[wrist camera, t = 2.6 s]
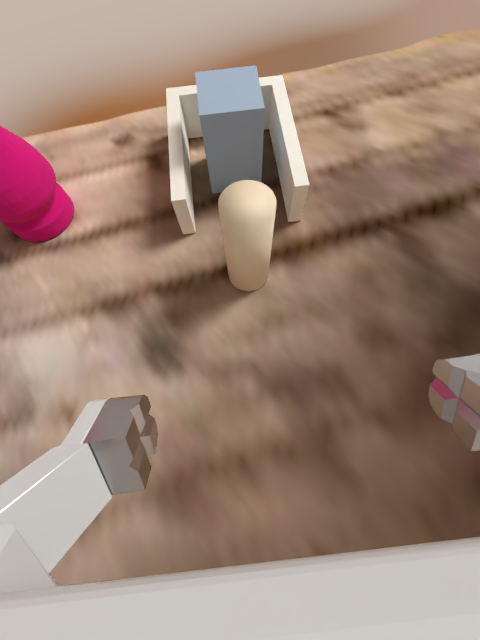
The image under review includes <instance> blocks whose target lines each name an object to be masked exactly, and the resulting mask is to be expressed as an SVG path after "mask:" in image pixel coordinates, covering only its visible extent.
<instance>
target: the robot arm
mask: <svg viewBox="0 0 480 640" xmlns="http://www.w3.org/2000/svg"><path fill="white" fill-rule="evenodd" d="M432 373H433V374H434V375H435V377H436V379H435V380H434V381H433V382H432V383H431V384H430V386H429V393H428V396H429V400H430V404H431V406H432V408H433V410H434V412H435V413H436V414H437V415H438V416H439V417H440V418H441V419H443V420H445V421H447V422H449V423H451V424H452V431H453V432H454V433H455V434H456V435H457V437H458V438H459V439H460V440H461V441H462V442H463V443H464V444H465V445H466V446H467V447H468V448H469V449H470V450H471V451H478V450H480V354H474V355H470V356H462V357H454V358H446V359H438V360H437V361H436V362H435V364H434V366H433V370H432ZM150 407H151V405H150V402H149V399H148V397H147V396H145V395H138V396H128V397H118V398H110V399H100V400H92V401H90V402H88V403H87V405H86V406H85V408H84V409H83V411H82V413H81V414H80V416H79V417H78V419H77V420H76V422H75V424H74V425H73V427H72V428H71V430H70V431H69V433H68V434H67V436H66V438H65V439H64V441H63V442H62V444H61V445H60V446H59V447H53V448H52V449H51V450H49V451H48V452H46V453H45V454H44V455H42V456H41V457H39V458H38V459H37V460H35V461H34V462H32V463H31V464H30V465H28V466H27V467H25V468H24V469H23V470H21V471H20V472H18V473H17V474H16V475H14V476H13V477H12V478H10V479H9V480H7V481H6V482H5V483H3V484H2V485H0V640H480V537H474V538H465V539H457V540H448V541H440V542H431V543H423V544H414V545H406V546H397V547H389V548H380V549H372V550H363V551H355V552H346V553H338V554H329V555H321V556H312V557H304V558H296V559H287V560H279V561H270V562H262V563H253V564H245V565H236V566H228V567H219V568H211V569H203V570H194V571H186V572H177V573H169V574H160V575H152V576H143V577H135V578H127V579H118V580H110V581H101V582H93V583H84V584H76V585H68V586H59V587H58V586H57V584H56V583H55V581H54V580H53V579H52V577H51V576H50V575H49V573H50V571H51V570H52V569H53V568H54V567H55V565H56V564H57V563H58V562H59V561H60V559H61V558H62V557H63V556H64V555H65V553H66V552H67V551H68V550H69V549H70V547H71V546H72V545H73V544H74V543H75V541H76V540H77V539H78V538H79V536H80V535H81V534H82V533H83V532H84V530H85V529H86V528H87V527H88V526H89V524H90V523H91V522H92V521H93V520H94V518H95V517H96V516H97V515H98V514H99V512H100V511H101V510H102V509H103V508H104V506H105V505H106V504H107V503H108V501H109V500H110V499H111V498H112V496H111V495H117V494H123V493H130V492H137V491H143V490H145V489H146V485H147V481H148V478H149V474H150V470H151V465H150V462H149V459H150V458H151V457H152V456H153V454H154V453H155V451H156V447H157V437H158V432H157V425H156V421H155V418H153V417H152V416H151V415H149V411H150Z"/></svg>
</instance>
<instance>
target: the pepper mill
mask: <svg viewBox="0 0 480 640" xmlns="http://www.w3.org/2000/svg"><path fill="white" fill-rule="evenodd" d="M73 214H74V206H73V202H72V200H71V199H70V197H69V196H68V195H67V194H66V192H65V191H64V190H63V189H62V187H61V186H60V185H59V184H57V183H56V176H55V173H54V170H53V168H52V166H51V165H50V164H49V162H48V161H47V160H46V159H45V158H44V157H43V156H42V155H41V154H40V153H39V152H38V151H37V150H36V149H35V148H34V147H33V146H31V145H30V144H29V143H27V142H26V141H25V140H23V139H22V138H20V137H18V136H17V135H15V134H13V133H12V132H10V131H8V130H6V129H5V128H3V127H1V126H0V221H2V222H3V224H4V225H5V226H6V227H7V228H8V229H10V230H11V231H12V232H13V233H15V234H16V235H17V236H18V237H20V238H22V239H24V240H27V241H34V242H39V241H45V240H48V239H51V238H53V237H55V236H57V235H58V234H60V233H61V232H63V231H64V230H65V229H66V228H67V227H68V225H69V224H70V222H71V220H72V218H73Z"/></svg>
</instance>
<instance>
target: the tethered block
mask: <svg viewBox="0 0 480 640" xmlns="http://www.w3.org/2000/svg"><path fill="white" fill-rule="evenodd" d="M195 76H196V87H197V97H198V108H199V117H200V123H201V129H202V135H203V141H204V147H205V153H206V159H207V165H208V171H209V177H210V183H211V189H212V194H214V193H221V195H220V197H219V200H218V208H219V215H220V222H221V228H222V235H223V242H224V248H225V255H226V262H227V269H228V275H229V280H230V282H231V283H232V285H233V286H234V287H236V288H237V289H239V290H242V291H255V290H257V289H259V288H261V287H262V286H263V285H264V284H265V283H266V281H267V278H268V272H269V264H270V255H271V247H272V238H273V230H274V222H275V213H276V203H277V202H276V197H275V195H274V193H273V191H272V190H271V189H270V188H269V187H268V186H267V185H265V184H263V183H261V182H262V159H263V137H264V115H265V106H264V101H263V97H262V92H261V87H260V82H259V77H258V72H257V67H256V65H255V66H247V67H238V68H230V69H221V70H212V71H203V72H195Z"/></svg>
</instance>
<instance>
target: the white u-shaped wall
mask: <svg viewBox="0 0 480 640" xmlns="http://www.w3.org/2000/svg"><path fill="white" fill-rule="evenodd" d="M259 82H260V87H261V92H262V97H263V101H264V106H265V115H264V130H266V129H269V131H270V136H271V140H272V145H273V150H274V155H275V160H276V165H277V170H278V175H279V179H280V184H281V189H282V194H283V199H284V204H285V209H286V214H287V218H288V222H294V221H301V217H302V213H303V209H304V205H305V201H306V197H307V193H308V189H309V181H308V177H307V173H306V169H305V165H304V161H303V157H302V153H301V149H300V145H299V141H298V137H297V132H296V128H295V124H294V120H293V116H292V112H291V108H290V104H289V100H288V96H287V92H286V88H285V84H284V80H283V76H282V75H279V76H271V77H262V78H259ZM166 97H167V119H168V142H169V165H170V188H171V202H172V205H173V208H174V211H175V213H176V216H177V219H178V222H179V225H180V227H181V230H182V233H183V234H191V233H195V221H194V207H193V194H192V181H191V167H190V154H189V141H188V138H196V137H203V135H202V129H201V123H200V117H199V108H198V97H197V87H196V85H192V86H183V87H175V88H167V89H166Z"/></svg>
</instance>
